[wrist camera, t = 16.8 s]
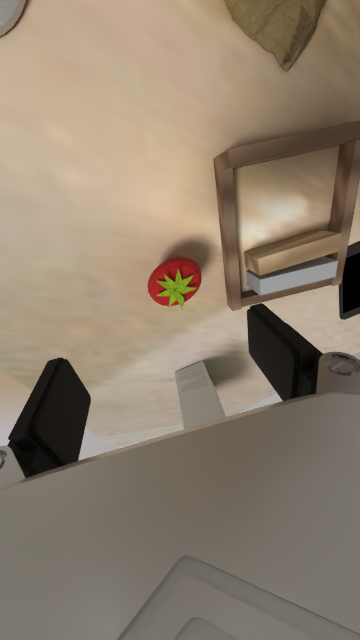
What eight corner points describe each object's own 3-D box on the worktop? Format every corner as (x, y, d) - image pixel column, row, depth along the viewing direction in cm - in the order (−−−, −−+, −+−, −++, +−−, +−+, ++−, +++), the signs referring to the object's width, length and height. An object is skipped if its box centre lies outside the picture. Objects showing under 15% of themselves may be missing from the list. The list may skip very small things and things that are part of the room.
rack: (213, 158, 28) (230, 148, 23) (352, 128, 29) (399, 112, 24) (227, 304, 38) (241, 320, 33) (329, 279, 39) (359, 291, 34)
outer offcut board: (245, 270, 36) (260, 279, 32) (314, 253, 37) (338, 260, 32) (246, 284, 37) (260, 295, 33) (312, 268, 38) (335, 276, 33)
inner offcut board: (243, 251, 34) (258, 258, 30) (315, 229, 35) (340, 233, 30) (245, 267, 36) (259, 275, 31) (314, 245, 36) (339, 251, 31)
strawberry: (199, 274, 35) (219, 298, 26) (159, 298, 36) (164, 329, 27) (182, 240, 32) (197, 254, 23) (138, 267, 33) (137, 290, 24)
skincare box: (214, 386, 47) (244, 460, 33) (186, 398, 47) (204, 476, 34) (202, 358, 43) (231, 430, 29) (171, 371, 43) (185, 448, 30)
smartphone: (338, 320, 44) (341, 322, 44) (335, 250, 37) (340, 251, 36) (372, 305, 44) (377, 307, 43) (377, 231, 37) (382, 232, 36)
